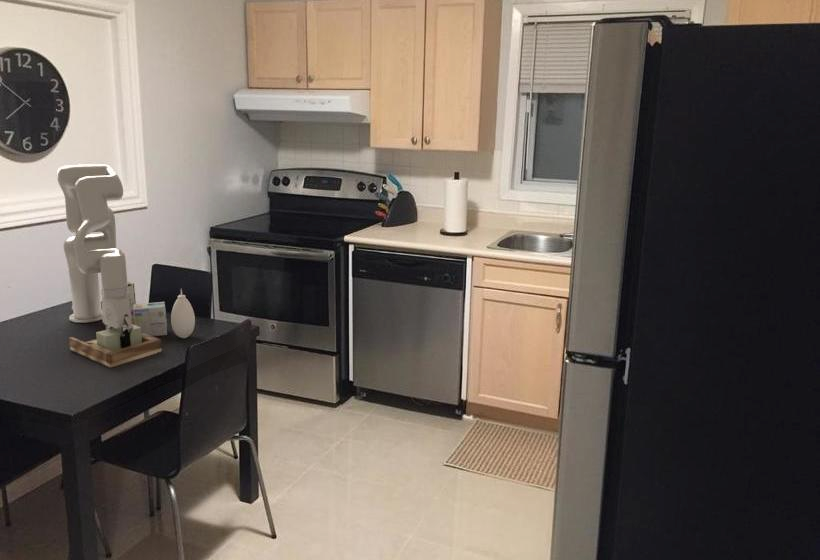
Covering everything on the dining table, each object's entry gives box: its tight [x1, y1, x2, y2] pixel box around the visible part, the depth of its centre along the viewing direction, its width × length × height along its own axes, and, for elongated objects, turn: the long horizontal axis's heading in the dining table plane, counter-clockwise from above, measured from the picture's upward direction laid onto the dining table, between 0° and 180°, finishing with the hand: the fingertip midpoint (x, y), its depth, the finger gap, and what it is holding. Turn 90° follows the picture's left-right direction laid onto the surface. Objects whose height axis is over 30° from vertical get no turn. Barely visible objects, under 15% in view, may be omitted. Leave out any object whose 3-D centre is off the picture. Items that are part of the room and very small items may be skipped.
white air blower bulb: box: [170, 288, 196, 339], centre depth 228 cm, size 8×8×18 cm
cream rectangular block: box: [95, 324, 142, 351], centre depth 214 cm, size 6×12×6 cm, turn 143°
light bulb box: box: [133, 301, 168, 337], centre depth 232 cm, size 11×7×11 cm, turn 111°
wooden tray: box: [68, 332, 163, 368], centre depth 216 cm, size 24×18×4 cm
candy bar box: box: [101, 281, 137, 330], centre depth 235 cm, size 11×5×16 cm, turn 161°
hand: (120, 344), depth 214 cm, fingers closed on cream rectangular block, 6 cm apart
